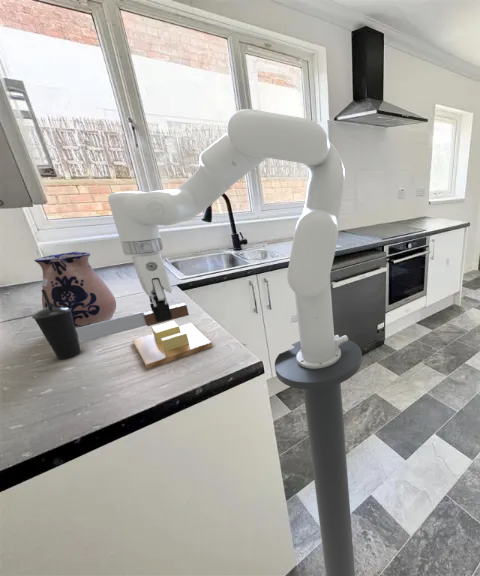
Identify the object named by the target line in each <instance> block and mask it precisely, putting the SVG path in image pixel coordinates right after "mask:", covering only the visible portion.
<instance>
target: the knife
mask: <svg viewBox="0 0 480 576" xmlns="http://www.w3.org/2000/svg"><path fill="white" fill-rule="evenodd" d="M169 308H170V312H171V316H172V318H171V319H168V320H164V321H161V322H157V321H156V318H155V314H154V311H153V310H152V309H151V310H149V311H145V312H144V311H141V312H136V313H133V314H129V315H125V316H120V317H116V318H111V319H110V320H108V321H104V322H99V323H95V324H91V325H87V326H83V327H79V328H75V329H76V333H77V337H78V340H79V343H80V344H81V343H85V342H90V341H94V340H97V339H100V338H104V337H108V336H112V335H116V334H119V333H123V332H127V331H131V330H135V329H138V328H142V327H146V326H147V327H150V326H151V327H152V326H155V325H159V324H163V323H167V322H170V321H174V320H177V319H180V318H184V317H187V316H189V315H190V314H189V310H188V309H189V308H188V305H187V303H185V302H182V303H178V304H173V305H169Z"/></svg>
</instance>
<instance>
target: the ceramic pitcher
mask: <svg viewBox="0 0 480 576" xmlns="http://www.w3.org/2000/svg"><path fill="white" fill-rule="evenodd" d="M90 256H91V252H82V251H81V252H80V251H78V250H76V251H71V252H64V253H59V254H51V255H47V256H42V257H38V258H35V259H34V260H33V261H34V262H35V263H36V264H38V265H39V266H40V267H41V268H40V269H41V270H42V271H41V272H42V284H41V287H42V288H41V290H45V291H46V294H47V296H48V298H49V301H50V303H51V306H52V307H53V306H68V307H71V308H72V310H71V313H72V317H73V321H74V325H75V328H79V327H83V326H87V325H91V324H95V323H99V322H104V321H108V320H112V319H113V316H114V314H115V312H116V309H117V301H116V298H115V296H114V294H113V292H112V291H111V289H110V288H109V286H108V285H107V284H106V283H105V281H104V280H103V279H102V278H101V277H100V276H99V274H98V273H97V272H96V271H95V270H94V268H93V267H92V265H91V264H90V262H89V258H90ZM41 305H42V309H45V308H48V305H47V303H46V301H45V298H44V296H43V293H42V292H41Z"/></svg>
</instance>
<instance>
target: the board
mask: <svg viewBox="0 0 480 576" xmlns="http://www.w3.org/2000/svg"><path fill="white" fill-rule="evenodd" d="M178 326H179V328H180V332H184V331H185V333H186V334H187V338H188V341H189V344H187V345H184V346H181V347H178V348H175V349H172V350H169V351H166V352H165V351H164V349H163V345H162V343H158V342H157V340H156V339H155V337H154V335H153V333H151V334H147V335H144V336H140V337H136V338H133V339H132V343H133V346H134V347H135V349H136V351H137V353H138V354H139V357H140V358H141V360H142V362H143V364H144V366H145V367H146V369H147V370H150V369H153V368H156V367H159V366H161V365H164V364H168V363H170V362H174V361H176V360H179V359H181V358H184V357H187V356H190V355H192V354H195V353H198V352H202V351H204V350H207V349H209V348H212V347H213V343H212V341H211V340H210V339H209V338H208V337H207V336H205V335H204V334H203V333H202V332H201V331H200V330H199V329H198V328H197V327H196V326H195V325H194V324H193V323H192V322H189V323H185V324H182V325H178Z"/></svg>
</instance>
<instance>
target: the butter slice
mask: <svg viewBox="0 0 480 576" xmlns="http://www.w3.org/2000/svg"><path fill="white" fill-rule="evenodd" d="M161 342H162V345H163V349H164V351H165V352H166V351H169V350H172V349H175V348H178V347H181V346H184V345H187V344H189V341H188V338H187V334H186V333H185V331H184V332H181V333H178V334H174V335H171V336H168V337H165V338H161Z"/></svg>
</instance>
